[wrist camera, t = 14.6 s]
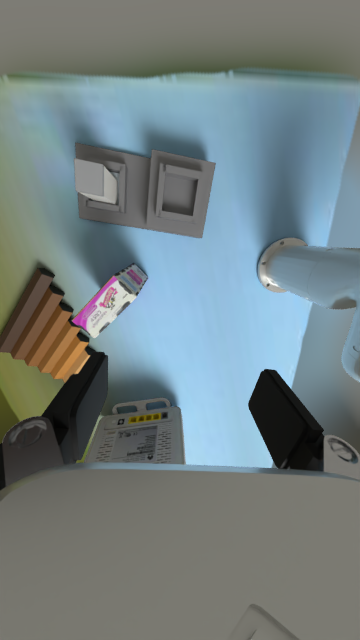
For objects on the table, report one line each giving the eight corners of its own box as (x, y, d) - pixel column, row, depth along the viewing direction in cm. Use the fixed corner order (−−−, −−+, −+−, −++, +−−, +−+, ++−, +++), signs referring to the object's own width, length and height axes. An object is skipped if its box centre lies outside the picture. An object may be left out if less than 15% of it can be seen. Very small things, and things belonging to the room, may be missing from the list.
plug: (117, 181, 36) (102, 164, 27) (117, 205, 37) (102, 196, 29) (96, 177, 35) (74, 158, 27) (96, 201, 37) (75, 190, 28)
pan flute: (43, 266, 42) (2, 341, 49) (33, 268, 39) (-9, 348, 46) (134, 327, 50) (88, 384, 57) (132, 333, 47) (83, 393, 54)
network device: (108, 424, 63) (83, 499, 45) (100, 405, 60) (70, 479, 41) (182, 413, 63) (187, 485, 45) (179, 394, 60) (183, 463, 41)
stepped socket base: (209, 172, 37) (218, 158, 30) (198, 238, 41) (203, 237, 35) (77, 144, 34) (55, 122, 27) (81, 218, 39) (63, 214, 32)
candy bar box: (133, 261, 43) (113, 273, 28) (149, 277, 44) (139, 296, 29) (102, 294, 45) (69, 321, 30) (118, 308, 47) (94, 340, 32)
